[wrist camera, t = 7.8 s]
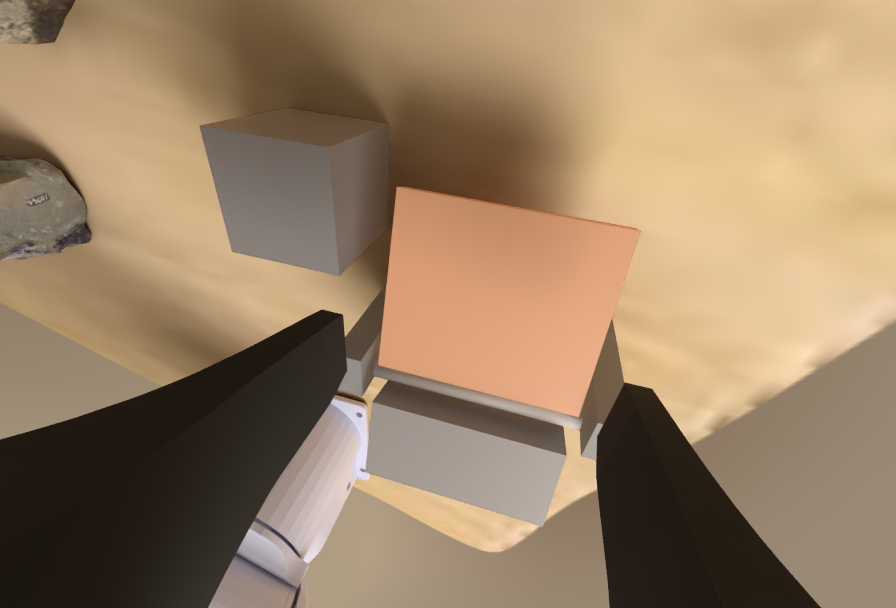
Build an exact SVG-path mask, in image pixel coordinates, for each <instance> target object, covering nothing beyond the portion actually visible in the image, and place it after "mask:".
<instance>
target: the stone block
mask: <svg viewBox="0 0 896 608" xmlns="http://www.w3.org/2000/svg"><path fill="white" fill-rule="evenodd" d="M74 2H75V0H0V43H6V44H42V43H51V42H55V40H56V38H57V36H58V34H59V32H60V30H61V28H62V26H63V22H64V19H65V17H66V15H67V14H68V12H69V11H70V9H71V8H72V6H73V4H74Z"/></svg>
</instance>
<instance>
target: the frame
mask: <svg viewBox="0 0 896 608" xmlns="http://www.w3.org/2000/svg"><path fill="white" fill-rule="evenodd" d="M386 285H387V284H386ZM386 285H385V287H384V288H383V289H382V290H381V292H380V293H379V294H378V296H377V297H376V298H375V300H374V301H373V302H372V303H371V305H370V306H369V307H368V309H367V310H366V311H365V312H364V314H363V315H362V316H361V318H360V319H359V320H358V322H357V323H356V324H355V325H354V327H353V328H352V329H351V331H350V332H349V333H348V334H347V336H346V337H345V347H346V360H347V372H346V374H345V376H344V378H343V380H342V382H341V384H340V386H339V388H338V390H341V391H345V392H349V393H352V394H356V395H360V396H363V394H364V393H365V391H366V389H367V388H368V386H369V384H370V383H371V381H372V379H373V378H374V376H373V370H374V366H375V364H376V362H377V360H379V352H380V343H381V333H382V324H383V314H384V304H385V295H386ZM623 385H624V379H623V374H622V369H621V363H620V358H619V352H618V347H617V341H616V336H615V331H614V325H613V321H612V320H611V322H610V325H609V328H608V331H607V334H606V337H605V340H604V343H603V346H602V349H601V352H600V355H599V358H598V361H597V364H596V367H595V370H594V373H593V376H592V379H591V382H590V385H589V388H588V391H587V394H586V397H585V400H584V403H583V406H582V409H581V412H582V413H583V420H582V425H581V428H580V443H581V456H582V457H586V458H589V459H593V460H596V453H597V435H598V433H599V432H600V430H601V428H602V426H603V424H604V422H605V420H606V418H607V416H608V414H609V412H610V410H611V408H612V406H613V405H614V403H615V401H616V399H617V397H618V395H619V393H620V391H621V389H622V387H623Z"/></svg>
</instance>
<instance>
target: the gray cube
mask: <svg viewBox="0 0 896 608" xmlns="http://www.w3.org/2000/svg"><path fill="white" fill-rule="evenodd" d="M200 130H201V133H202V137H203V141H204V145H205V149H206V153H207V157H208V160H209V164H210V168H211V172H212V176H213V180H214V184H215V187H216V191H217V195H218V199H219V203H220V207H221V211H222V214H223V218H224V222H225V226H226V230H227V234H228V237H229V241H230V245H231V249H232V252H235V253H240V254H244V255H249V256H253V257H258V258H262V259H267V260H271V261H276V262H280V263H285V264H289V265H294V266H298V267H302V268H307V269H311V270H316V271H320V272H325V273H329V274H334V275H338V276H340V275H341V274H342V273H343V272H344V271H345V270H346V269H347V268H348V267H349V266H350V265H351V264H352V263H353V262H354V261H355V260H356V259H357V258H358V257H359V256H360V255H361V254H362V253H363V252H364V251H365V250H366V249H367V248H368V247H369V246H370V245H371V244H372V243H373V242H374V241H375V240H376V239H377V238H378V237H379V236H380V235H381V234H382V233H383V232H384V231H385V230H386V229H387V228H388V139H389V123H382V122H376V121H369V120H363V119H356V118H350V117H343V116H337V115H330V114H324V113H317V112H311V111H304V110H298V109H291V108H286V109H281V110H276V111H271V112H266V113H261V114H256V115H251V116H246V117H241V118H235V119H230V120H225V121H220V122H215V123H210V124H205V125H200Z"/></svg>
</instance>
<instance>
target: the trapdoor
mask: <svg viewBox="0 0 896 608" xmlns="http://www.w3.org/2000/svg"><path fill="white" fill-rule="evenodd" d="M640 233H641V231H640V230H638V229H636V228H632V227H626V226H621V225H615V224H610V223H604V222H599V221H593V220H588V219H582V218H577V217H571V216H565V215H560V214H554V213H549V212H543V211H538V210H532V209H527V208H521V207H515V206H510V205H504V204H499V203H493V202H488V201H482V200H477V199H471V198H466V197H460V196H454V195H449V194H443V193H438V192H432V191H427V190H421V189H416V188H410V187H405V186H404V187H397V190H396V199H395V209H394V218H393V228H392V237H391V247H390V257H389V266H388V276H387V285H386V295H385V304H384V314H383V324H382V333H381V343H380V352H379V360H377V362H376V364H375V366H374V370H373V376H375V377H379V378H383V379H387V380H388V381H387V383H386V384H385V385H384V387H383V388H382V390H381V391H380V392H379V394H378V395H377V396H376V398H375V399H374V400H373V402H372V410H371V420H370V429H369V439H368V449H367V459H366V469H365V472H366V473H369V474H372V475H376V476H379V477H382V478H385V479H389V480H392V481H395V482H398V483H402V484H405V485H408V486H412V487H415V488H418V489H421V490H425V491H428V492H431V493H434V494H438V495H441V496H444V497H447V498H451V499H454V500H457V501H460V502H464V503H467V504H470V505H473V506H477V507H480V508H483V509H487V510H490V511H493V512H496V513H500V514H503V515H506V516H509V517H513V518H516V519H519V520H522V521H526V522H529V523H532V524H535V525H539V526H542V527H543V524H544V521H545V518H546V515H547V512H548V509H549V506H550V503H551V500H552V497H553V494H554V491H555V488H556V485H557V482H558V479H559V476H560V473H561V471H562V468H563V465H564V462H565V459H566V447H565V438H564V429H563V426H564V427H568V428H572V429H576V430H580V428H581V425H582V420H583V413H582V412H581V409H582V406H583V403H584V400H585V397H586V394H587V391H588V388H589V385H590V382H591V379H592V376H593V373H594V370H595V367H596V364H597V361H598V358H599V355H600V352H601V349H602V346H603V343H604V340H605V337H606V334H607V331H608V328H609V325H610V322H611V319H612V316H613V313H614V310H615V307H616V304H617V301H618V298H619V295H620V292H621V289H622V286H623V283H624V280H625V277H626V274H627V271H628V268H629V265H630V262H631V259H632V256H633V253H634V250H635V247H636V244H637V241H638V238H639V236H640Z"/></svg>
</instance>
